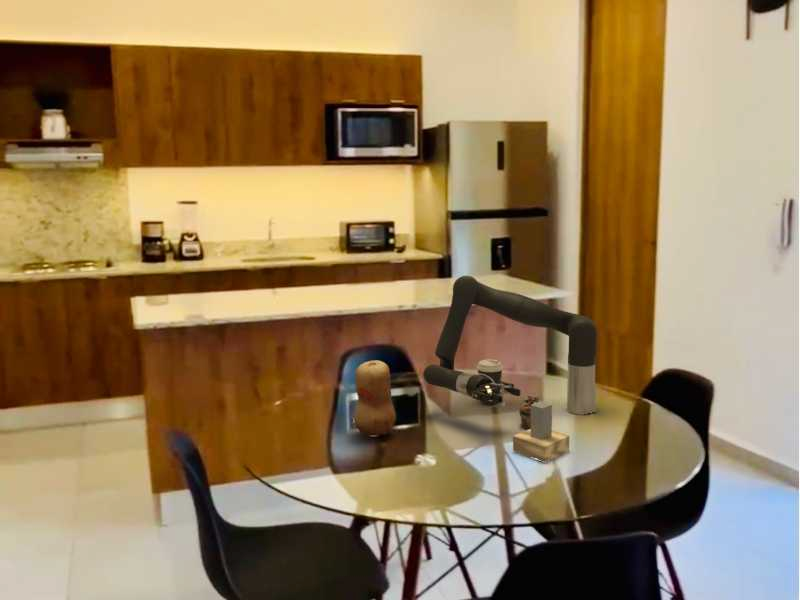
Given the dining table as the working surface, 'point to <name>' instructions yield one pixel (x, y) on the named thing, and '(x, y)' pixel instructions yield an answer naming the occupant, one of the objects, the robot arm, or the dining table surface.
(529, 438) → the birch plinth
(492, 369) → the coffee cup
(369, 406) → the butternut squash
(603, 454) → the dining table surface
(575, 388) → the robot arm
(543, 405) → the grey block
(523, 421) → the cupcake
